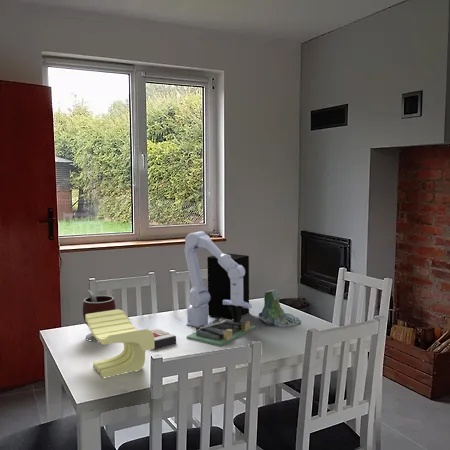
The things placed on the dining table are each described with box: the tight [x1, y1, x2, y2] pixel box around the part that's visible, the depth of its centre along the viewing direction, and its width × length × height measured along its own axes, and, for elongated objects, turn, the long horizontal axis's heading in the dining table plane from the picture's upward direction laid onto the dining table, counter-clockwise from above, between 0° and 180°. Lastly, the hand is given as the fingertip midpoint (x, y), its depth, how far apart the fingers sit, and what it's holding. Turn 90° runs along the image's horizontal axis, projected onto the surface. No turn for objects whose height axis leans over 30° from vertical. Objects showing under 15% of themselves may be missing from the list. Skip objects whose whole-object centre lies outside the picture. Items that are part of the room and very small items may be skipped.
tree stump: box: [257, 288, 301, 328], centre depth 234 cm, size 18×20×18 cm
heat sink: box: [195, 317, 250, 341], centre depth 217 cm, size 16×22×4 cm
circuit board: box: [186, 325, 256, 347], centre depth 217 cm, size 18×28×1 cm, turn 145°
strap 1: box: [199, 320, 225, 330], centre depth 211 cm, size 12×3×1 cm, turn 55°
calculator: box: [149, 328, 177, 350], centre depth 207 cm, size 11×4×15 cm
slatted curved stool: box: [85, 308, 156, 379], centre depth 179 cm, size 30×16×18 cm, turn 30°
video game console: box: [206, 252, 250, 320], centre depth 245 cm, size 15×15×30 cm
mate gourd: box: [82, 289, 117, 342], centre depth 214 cm, size 16×14×20 cm
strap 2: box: [218, 318, 243, 325], centre depth 223 cm, size 12×3×1 cm, turn 55°
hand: (237, 321), depth 221 cm, fingers closed
